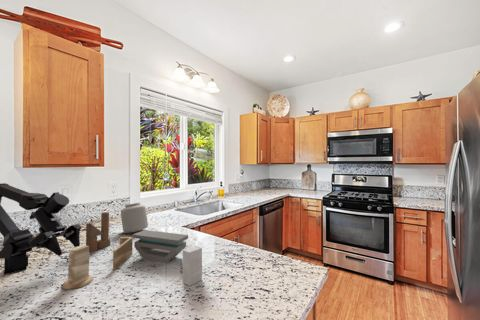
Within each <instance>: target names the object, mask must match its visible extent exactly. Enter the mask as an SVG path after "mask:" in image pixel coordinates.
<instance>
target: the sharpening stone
mask: <svg viewBox="0 0 480 320" xmlns="http://www.w3.org/2000/svg"><path fill="white" fill-rule="evenodd" d="M132 238H133V239H138V240H135V241H133V242H134V244H133V245H134V249H135V250H136V251H137V253H138V254H139V255H140V257H141V258H142V259H143V261H147V262H153V263H158V262H159V263H158V264H164V263H165V264H167V263H168V262H170V261H171V260H173V259H174V258H176V257H177V256H178V255H179V254H180V253H181V252H183V250H185V249H186V247H187V242H186V240H188V239H189V235H188V234H181V233H174V232H167V231H165V232H164V231H157V230H147V229H143V230H140V231H137V232H135V233H133V234H132Z"/></svg>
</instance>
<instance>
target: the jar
mask: <svg viewBox="0 0 480 320" xmlns="http://www.w3.org/2000/svg"><path fill="white" fill-rule="evenodd" d="M147 215H148V214H147V208H146V206H145V205H144V204H141V202H135V203H130V204H125V205H124V208H122V209H121V210H120V218H121V224H122V225H121V226H122V232H123V233H124V234H125V233H126V234H129V233H137V232H141V231H143V230H146V229H147V227H148V226H149V223H148V216H147Z"/></svg>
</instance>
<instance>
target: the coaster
mask: <svg viewBox="0 0 480 320" xmlns="http://www.w3.org/2000/svg"><path fill="white" fill-rule="evenodd" d="M93 279H94V278H93V276H92V275H90V274H89V278H88V279H86V280H84V281H82V282H80V283H78V284H76V285H73V284H68V279H66V280H65V281H64V282H63V283H62V284H61V288H62V289H63V290H68V291H69V290H76V289H77V290H78V289H80V288H83V287H85V286H87V285H90V284H91V283H92V282H93Z"/></svg>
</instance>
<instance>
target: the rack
mask: <svg viewBox="0 0 480 320" xmlns="http://www.w3.org/2000/svg"><path fill="white" fill-rule="evenodd" d="M133 239H134V238H133V237H131V236H129V237H128V236H120V237H119V244H118V246H117V247H116V248H115V249H113V252H112V253H113V254H112V271H116V270H117V269H119V268H120V267H121V266H122V265H123V264H124V263H125V262H126V261H127V260H128V259H129V258H130V257H131V256H132V255H133Z"/></svg>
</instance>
